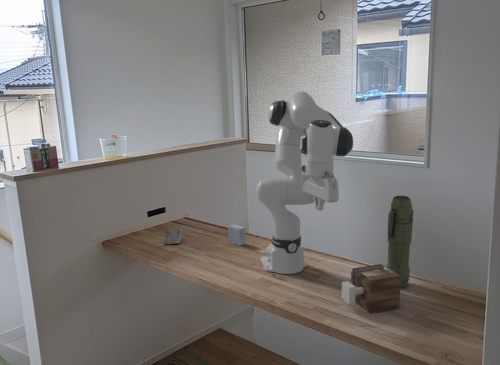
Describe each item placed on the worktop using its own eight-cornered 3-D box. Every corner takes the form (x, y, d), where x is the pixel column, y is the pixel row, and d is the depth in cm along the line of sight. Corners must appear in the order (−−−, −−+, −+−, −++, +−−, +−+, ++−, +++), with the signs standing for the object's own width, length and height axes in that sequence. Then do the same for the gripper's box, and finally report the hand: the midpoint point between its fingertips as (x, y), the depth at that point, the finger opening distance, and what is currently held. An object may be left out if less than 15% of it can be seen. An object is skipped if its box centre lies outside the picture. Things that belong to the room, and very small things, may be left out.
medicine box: (245, 244, 236) (245, 227, 235) (239, 246, 233) (239, 229, 231) (234, 241, 242) (234, 224, 240) (228, 243, 238) (227, 226, 237)
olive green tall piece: (415, 283, 189) (421, 196, 182) (397, 291, 182) (402, 201, 175) (396, 276, 196) (401, 192, 189) (378, 284, 188) (382, 197, 181)
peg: (341, 298, 169) (342, 269, 167) (380, 291, 175) (381, 264, 173) (348, 304, 165) (350, 275, 163) (388, 297, 170) (390, 269, 168)
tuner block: (351, 299, 175) (352, 267, 173) (379, 294, 179) (381, 263, 177) (369, 313, 164) (371, 280, 162) (399, 308, 168) (401, 275, 166)
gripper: (344, 174, 152) (342, 216, 155) (314, 164, 171) (314, 202, 174) (326, 175, 150) (325, 218, 153) (298, 165, 169) (298, 203, 172)
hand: (319, 209), depth 164 cm, fingers closed
